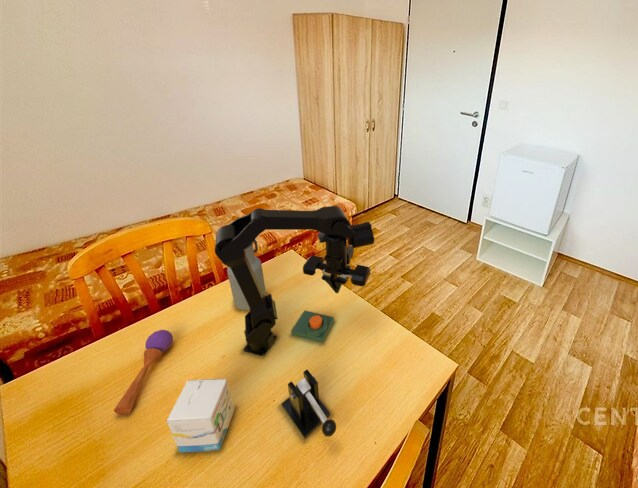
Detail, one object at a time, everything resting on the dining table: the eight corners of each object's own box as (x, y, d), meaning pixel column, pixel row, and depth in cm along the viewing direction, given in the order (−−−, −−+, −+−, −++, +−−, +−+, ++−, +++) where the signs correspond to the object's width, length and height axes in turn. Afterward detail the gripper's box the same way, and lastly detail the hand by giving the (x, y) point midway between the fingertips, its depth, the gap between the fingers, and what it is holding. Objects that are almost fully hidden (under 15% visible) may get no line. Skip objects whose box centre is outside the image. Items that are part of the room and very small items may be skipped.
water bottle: (241, 289, 110) (227, 219, 97) (270, 288, 111) (260, 219, 99) (229, 312, 100) (212, 238, 88) (261, 311, 101) (249, 238, 89)
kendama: (100, 407, 70) (148, 327, 87) (116, 419, 73) (159, 340, 90) (128, 401, 71) (170, 323, 88) (143, 413, 74) (180, 336, 91)
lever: (338, 430, 69) (340, 426, 67) (326, 442, 66) (328, 437, 65) (305, 381, 74) (306, 375, 73) (293, 390, 72) (294, 384, 71)
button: (307, 327, 93) (307, 323, 92) (313, 318, 96) (312, 314, 95) (318, 330, 92) (318, 326, 91) (324, 320, 95) (324, 316, 95)
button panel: (291, 336, 94) (290, 327, 92) (304, 315, 101) (304, 306, 99) (322, 344, 92) (322, 335, 90) (334, 322, 100) (333, 313, 98)
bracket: (330, 416, 75) (328, 387, 71) (304, 440, 71) (301, 411, 66) (307, 386, 81) (304, 358, 76) (281, 406, 76) (277, 378, 72)
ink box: (220, 450, 68) (210, 419, 63) (178, 453, 67) (164, 421, 62) (235, 408, 75) (227, 377, 70) (198, 410, 75) (186, 378, 69)
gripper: (376, 240, 94) (375, 280, 101) (318, 228, 97) (320, 268, 104) (364, 263, 84) (363, 306, 91) (300, 250, 87) (303, 292, 94)
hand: (337, 292), depth 95 cm, fingers closed
